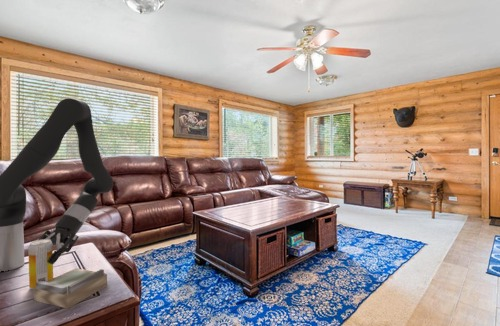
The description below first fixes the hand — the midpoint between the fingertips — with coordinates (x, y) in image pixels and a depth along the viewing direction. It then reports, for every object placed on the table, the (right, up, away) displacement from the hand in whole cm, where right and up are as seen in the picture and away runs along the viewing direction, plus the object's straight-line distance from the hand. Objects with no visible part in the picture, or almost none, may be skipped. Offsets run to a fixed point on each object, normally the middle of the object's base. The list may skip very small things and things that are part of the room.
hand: (40, 261), depth 81 cm
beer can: (0, -9, 0) cm, 9 cm away
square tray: (+13, -8, -4) cm, 16 cm away
